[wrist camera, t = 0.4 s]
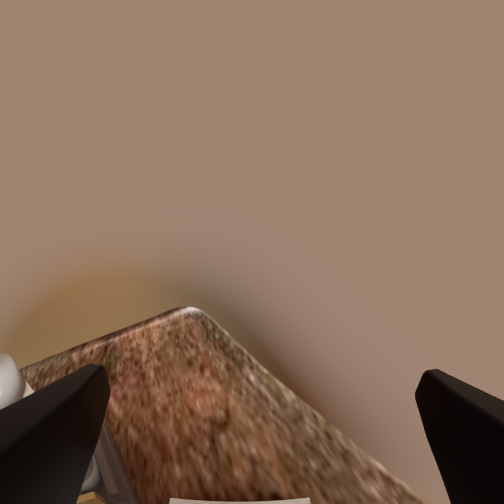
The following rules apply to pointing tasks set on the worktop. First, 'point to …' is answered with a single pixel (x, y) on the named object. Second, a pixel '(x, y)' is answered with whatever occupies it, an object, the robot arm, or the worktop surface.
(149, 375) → the worktop surface
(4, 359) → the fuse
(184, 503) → the parts tray
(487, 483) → the robot arm
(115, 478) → the fuse holder
